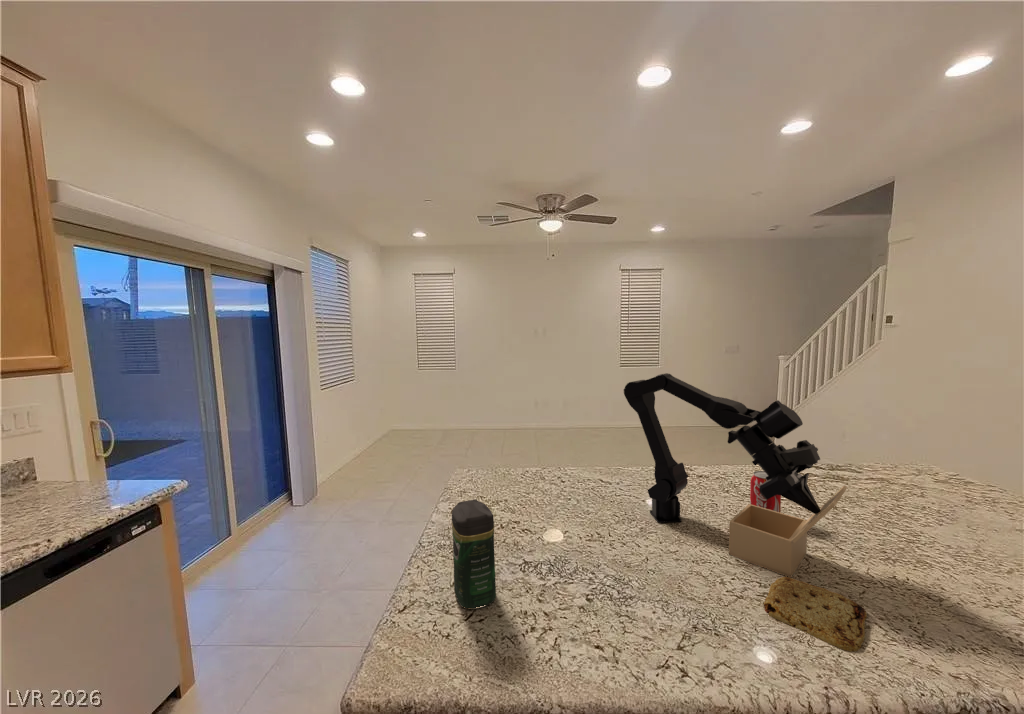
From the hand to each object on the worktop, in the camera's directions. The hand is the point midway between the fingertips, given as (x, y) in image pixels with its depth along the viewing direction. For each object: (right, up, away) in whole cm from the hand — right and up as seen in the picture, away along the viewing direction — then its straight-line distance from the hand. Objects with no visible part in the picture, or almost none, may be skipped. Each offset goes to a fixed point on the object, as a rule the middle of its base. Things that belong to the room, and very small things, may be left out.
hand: (818, 512), depth 83 cm
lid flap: (0, 0, 0) cm, 0 cm away
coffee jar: (-72, -15, -3) cm, 74 cm away
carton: (-6, -13, +8) cm, 16 cm away
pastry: (-9, -15, -11) cm, 21 cm away
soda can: (+5, -11, +25) cm, 28 cm away
